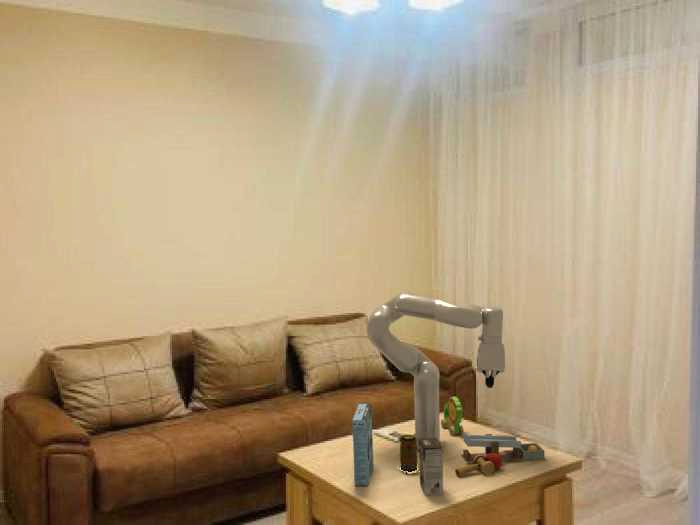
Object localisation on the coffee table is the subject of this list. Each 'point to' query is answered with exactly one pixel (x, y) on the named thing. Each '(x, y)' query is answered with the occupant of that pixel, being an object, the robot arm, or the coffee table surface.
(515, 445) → the lever
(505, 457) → the stand
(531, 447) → the ball
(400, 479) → the coffee table surface
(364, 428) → the gum box
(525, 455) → the green square tray
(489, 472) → the kendama
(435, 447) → the coffee box
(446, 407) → the toy lion
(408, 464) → the condiment
